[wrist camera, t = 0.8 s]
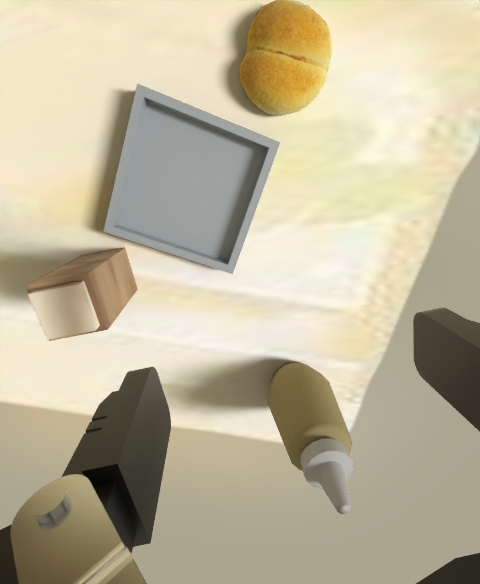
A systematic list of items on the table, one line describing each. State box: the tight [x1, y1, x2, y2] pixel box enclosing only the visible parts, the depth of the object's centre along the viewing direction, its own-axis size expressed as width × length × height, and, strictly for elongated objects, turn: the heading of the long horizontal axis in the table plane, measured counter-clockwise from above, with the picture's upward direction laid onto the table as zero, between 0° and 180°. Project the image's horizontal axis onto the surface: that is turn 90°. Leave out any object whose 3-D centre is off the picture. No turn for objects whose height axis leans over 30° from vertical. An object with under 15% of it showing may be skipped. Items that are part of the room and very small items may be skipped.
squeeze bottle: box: [268, 363, 353, 514], centre depth 35 cm, size 8×8×18 cm
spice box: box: [26, 248, 137, 341], centre depth 31 cm, size 5×5×12 cm
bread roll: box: [239, 0, 331, 116], centre depth 30 cm, size 8×9×4 cm
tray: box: [103, 84, 280, 274], centre depth 33 cm, size 14×14×2 cm
